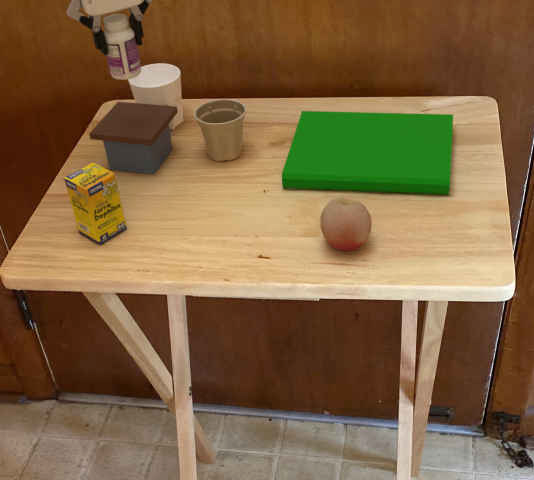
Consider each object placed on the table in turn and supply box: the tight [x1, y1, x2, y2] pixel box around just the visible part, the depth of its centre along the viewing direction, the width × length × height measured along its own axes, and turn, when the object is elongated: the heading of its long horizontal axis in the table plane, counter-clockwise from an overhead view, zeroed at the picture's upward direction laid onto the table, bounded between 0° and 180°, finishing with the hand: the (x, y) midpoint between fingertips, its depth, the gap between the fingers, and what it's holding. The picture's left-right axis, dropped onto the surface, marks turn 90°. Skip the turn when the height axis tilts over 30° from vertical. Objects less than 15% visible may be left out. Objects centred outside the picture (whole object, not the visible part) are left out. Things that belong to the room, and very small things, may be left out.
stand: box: [88, 101, 178, 175], centre depth 149 cm, size 12×12×8 cm
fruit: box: [319, 197, 373, 252], centre depth 125 cm, size 8×8×8 cm
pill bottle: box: [102, 13, 142, 81], centre depth 136 cm, size 5×5×10 cm
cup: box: [127, 62, 184, 131], centre depth 158 cm, size 10×10×10 cm
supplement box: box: [63, 161, 128, 246], centre depth 132 cm, size 6×6×11 cm
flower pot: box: [193, 98, 247, 162], centre depth 148 cm, size 9×9×9 cm
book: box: [281, 110, 454, 196], centre depth 145 cm, size 22×28×3 cm
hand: (120, 46), depth 136 cm, fingers closed on pill bottle, 5 cm apart
